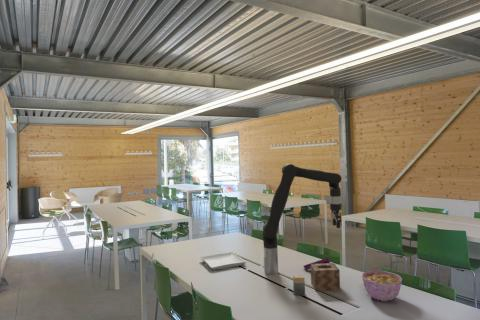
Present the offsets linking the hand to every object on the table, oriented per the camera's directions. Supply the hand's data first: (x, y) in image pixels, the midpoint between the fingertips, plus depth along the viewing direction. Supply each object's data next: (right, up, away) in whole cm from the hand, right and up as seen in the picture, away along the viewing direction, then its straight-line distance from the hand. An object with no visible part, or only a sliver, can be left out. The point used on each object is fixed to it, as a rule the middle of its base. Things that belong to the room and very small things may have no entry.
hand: (336, 226), depth 225 cm
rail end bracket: (-32, -31, -37) cm, 58 cm away
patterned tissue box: (-15, -30, -28) cm, 44 cm away
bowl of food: (+11, -30, -46) cm, 56 cm away
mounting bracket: (-14, -30, 0) cm, 33 cm away
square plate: (-78, -33, +23) cm, 88 cm away
